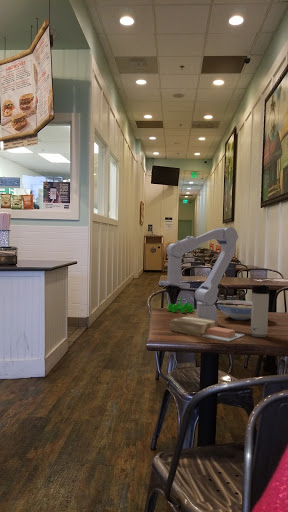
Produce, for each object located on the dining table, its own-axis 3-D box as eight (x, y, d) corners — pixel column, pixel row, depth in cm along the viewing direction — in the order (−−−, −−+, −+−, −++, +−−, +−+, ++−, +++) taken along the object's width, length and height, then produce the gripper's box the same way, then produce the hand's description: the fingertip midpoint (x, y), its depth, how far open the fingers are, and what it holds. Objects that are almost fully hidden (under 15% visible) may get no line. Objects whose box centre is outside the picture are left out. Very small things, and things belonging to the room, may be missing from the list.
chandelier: (200, 312, 209) (201, 299, 209) (184, 315, 198) (184, 301, 197) (177, 308, 219) (177, 295, 218) (160, 311, 207) (160, 297, 207)
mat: (219, 331, 163) (219, 330, 163) (244, 335, 156) (244, 334, 156) (202, 336, 152) (202, 335, 152) (228, 341, 145) (228, 340, 145)
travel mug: (253, 337, 153) (256, 285, 153) (248, 333, 160) (250, 283, 159) (269, 337, 154) (272, 285, 153) (263, 333, 160) (265, 284, 160)
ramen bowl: (262, 316, 202) (262, 299, 202) (272, 325, 179) (272, 306, 179) (211, 313, 204) (212, 297, 204) (215, 322, 182) (216, 304, 181)
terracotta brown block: (213, 331, 160) (214, 326, 160) (234, 335, 154) (235, 330, 154) (206, 333, 155) (206, 328, 155) (227, 337, 150) (227, 332, 150)
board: (188, 325, 172) (188, 316, 172) (217, 330, 164) (217, 320, 164) (169, 330, 161) (169, 320, 161) (199, 336, 153) (200, 325, 153)
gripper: (155, 270, 171) (153, 302, 171) (183, 273, 162) (182, 306, 162) (164, 270, 176) (163, 301, 177) (193, 272, 167) (191, 305, 168)
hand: (173, 303), depth 170 cm, fingers closed
